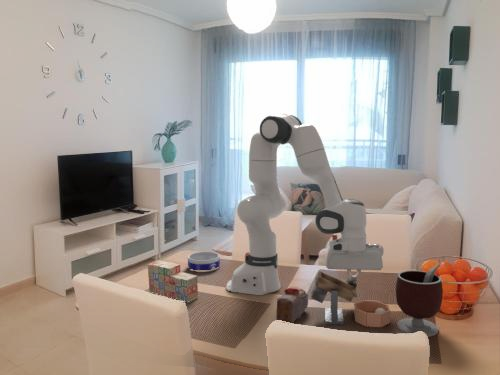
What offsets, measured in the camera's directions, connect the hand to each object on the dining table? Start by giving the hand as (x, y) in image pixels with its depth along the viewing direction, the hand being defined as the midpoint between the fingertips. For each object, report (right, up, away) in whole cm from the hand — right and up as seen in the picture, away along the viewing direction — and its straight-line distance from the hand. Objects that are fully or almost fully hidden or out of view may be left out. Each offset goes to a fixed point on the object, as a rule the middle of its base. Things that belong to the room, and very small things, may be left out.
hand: (353, 280), depth 154 cm
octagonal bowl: (+3, -10, -12) cm, 16 cm away
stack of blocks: (-69, -9, +13) cm, 71 cm away
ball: (+6, -8, -13) cm, 16 cm away
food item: (-23, -11, -8) cm, 27 cm away
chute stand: (-9, -10, -10) cm, 17 cm away
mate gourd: (+17, -11, -18) cm, 27 cm away
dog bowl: (-60, -5, +48) cm, 77 cm away
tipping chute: (-10, -5, -5) cm, 12 cm away
